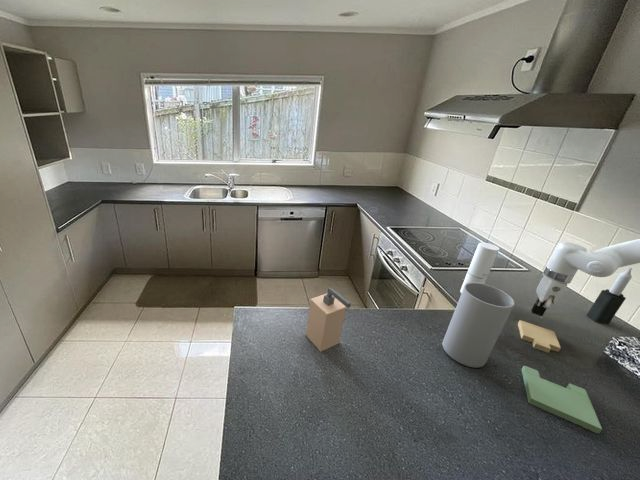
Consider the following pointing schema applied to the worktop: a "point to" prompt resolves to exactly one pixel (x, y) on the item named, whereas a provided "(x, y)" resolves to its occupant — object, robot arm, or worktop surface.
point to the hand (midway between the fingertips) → (536, 313)
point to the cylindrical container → (481, 264)
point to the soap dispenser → (326, 319)
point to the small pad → (539, 337)
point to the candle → (610, 300)
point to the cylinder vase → (476, 324)
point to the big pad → (560, 400)
